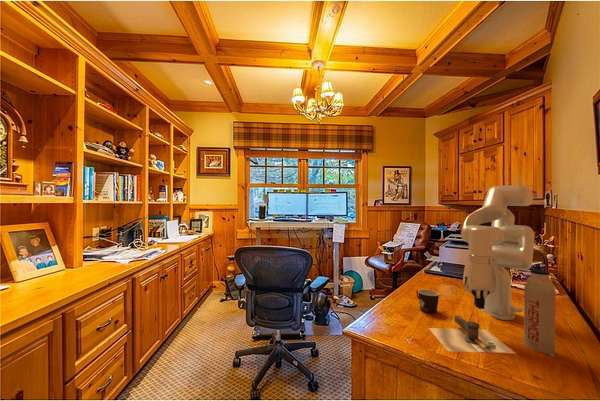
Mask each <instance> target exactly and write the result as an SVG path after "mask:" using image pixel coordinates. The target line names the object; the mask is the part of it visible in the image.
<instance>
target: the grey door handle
mask: <svg viewBox="0 0 600 401" xmlns="http://www.w3.org/2000/svg"><path fill="white" fill-rule="evenodd" d="M454 322H455V324H457V325H458V326H459V327H460V329H464V330H465V331H466V332H467V333H468V339H470V340H472V341H476V342H477V343H478V344H479V345H480V346H481V347H482V348H486V347H485V346H484V345H483V344H482V343H481V342H480V341H479V340H478V329H480V327H481V326H480V324H479V323H478V322H475V321H470V320H469V321H466V320H465V319H464V318H463V317H462V316H460V315H454Z"/></svg>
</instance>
